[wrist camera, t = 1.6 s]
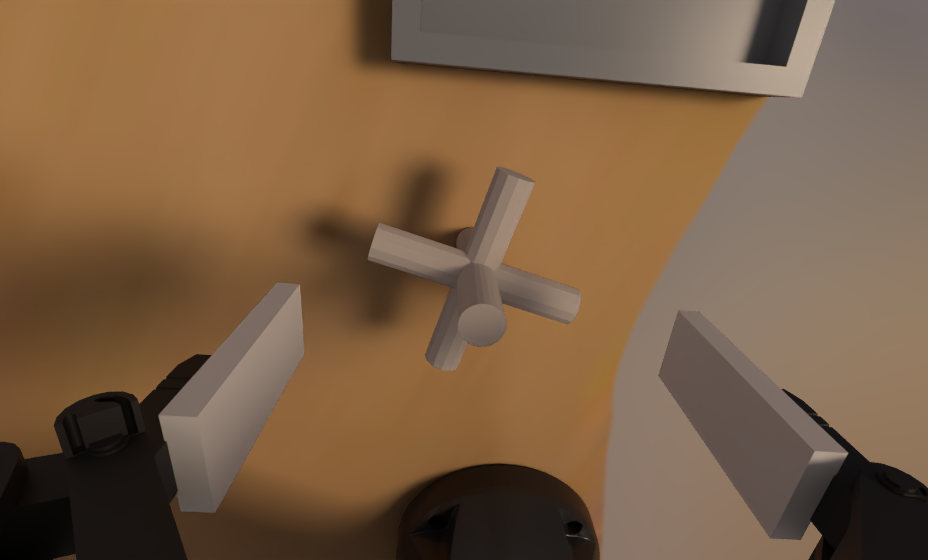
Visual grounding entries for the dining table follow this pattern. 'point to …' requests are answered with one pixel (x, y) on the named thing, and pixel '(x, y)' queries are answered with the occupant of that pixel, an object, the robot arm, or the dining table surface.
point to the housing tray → (622, 40)
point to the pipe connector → (477, 273)
